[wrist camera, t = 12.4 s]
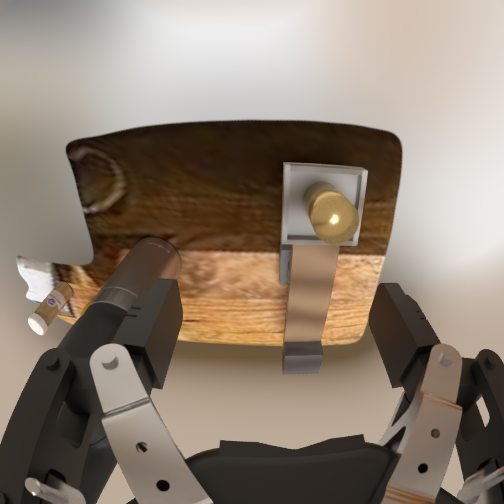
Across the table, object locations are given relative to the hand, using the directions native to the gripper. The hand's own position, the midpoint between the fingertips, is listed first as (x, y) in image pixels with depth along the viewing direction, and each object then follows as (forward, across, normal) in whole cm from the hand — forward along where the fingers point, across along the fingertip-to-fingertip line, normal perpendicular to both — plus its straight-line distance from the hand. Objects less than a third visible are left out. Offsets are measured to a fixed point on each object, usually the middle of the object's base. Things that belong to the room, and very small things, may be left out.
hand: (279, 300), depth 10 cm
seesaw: (+23, -7, +15) cm, 28 cm away
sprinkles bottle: (+31, +44, +26) cm, 59 cm away
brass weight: (+21, -6, +3) cm, 22 cm away
